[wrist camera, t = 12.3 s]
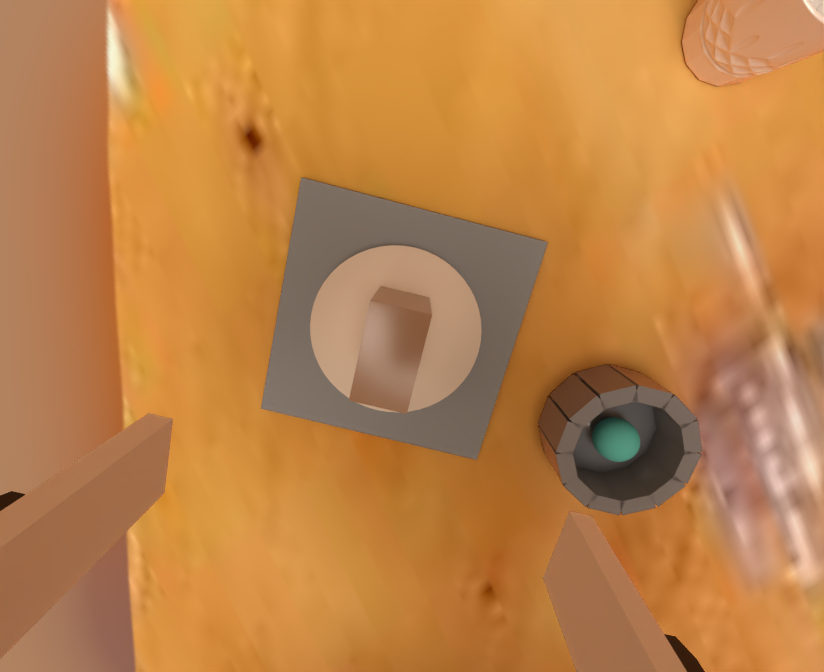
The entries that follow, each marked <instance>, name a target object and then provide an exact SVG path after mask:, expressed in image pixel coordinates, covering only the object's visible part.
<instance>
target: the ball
mask: <svg viewBox="0 0 824 672" xmlns="http://www.w3.org/2000/svg"><path fill="white" fill-rule="evenodd" d="M592 441H593V445H594V447H595V449H596V450H597V452H598V453H599V454H600V455H601V456H603V457H604V458H606V459H608V460H611V461H615V462H623V461H627V460H629V459H631V458H632V457H634V456H635V455H636V453H637V452H638V450H639V447H640V437H639V434H638V432H637V430H636V428H635V427H634V426H633V425H632V424H631V423H629V422H628V421H626V420H624V419H621V418H615V417H612V418H606V419H604V420H602V421H600V422H599V423H598V424H597V425H596V426H595V428H594V430H593V434H592Z"/></svg>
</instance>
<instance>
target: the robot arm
mask: <svg viewBox="0 0 824 672" xmlns="http://www.w3.org/2000/svg"><path fill="white" fill-rule="evenodd" d="M172 422H173V419H172V418H167V417H163V416H159V415H154V414H150V413H148V414H147V415H145V416H144V417H142V418H141V419H139V420H138V421H136V422H135V423H133V424H132V425H130V426H129V427H127V428H126V429H124V430H123V431H121V432H120V433H118V434H117V435H115V436H113V437H112V438H111V439H109V440H108V441H106V442H104V443H103V444H101V445H100V446H98V447H97V448H95V449H94V450H92V451H91V452H89V453H88V454H87V455H85V456H83V457H82V458H80V459H79V460H77V461H76V462H74V463H73V464H71V465H70V466H68V467H67V468H65V469H64V470H62V471H61V472H59V473H58V474H56V475H55V476H53V477H52V478H50V479H48V480H47V481H46V482H44V483H42V484H41V485H39V486H38V487H36V488H35V489H33V490H32V491H30V492H29V493H27V494H22V493H17V492H13V491H11V492H8V493H6V494H3V495H1V496H0V659H1V658H2V657H3V656H4V655H5V654H6V653H7V652H8V651H9V650H10V649H11V648H12V647H13V646H14V645H15V644H16V643H17V642H18V641H19V640H20V639H21V638H22V637H23V636H24V635H25V634H26V633H27V632H28V631H29V630H30V628H32V627H33V625H35V624H36V623H37V622H38V620H39V619H41V618H42V617H43V615H45V613H46V612H47V611H48V610H49V609H50V608H51V607H52V606H53V605H54V604H55V603H56V602H57V601H58V600H59V599H60V598H61V597H62V596H63V595H64V594H65V593H66V592H67V591H68V590H69V589H70V588H71V587H72V586H73V585H74V584H75V583H76V582H77V581H78V580H79V579H80V578H81V577H82V576H83V575H84V574H85V573H86V572H87V571H88V570H89V569H90V568H91V567H92V566H93V565H94V564H95V563H96V562H97V561H98V560H99V559H100V558H101V557H102V555H104V554H105V553H106V552H107V551H108V550H109V549H110V547H112V545H113V544H114V543H115V542H116V541H117V540H118V539H119V538H120V537H121V536H122V535H123V534H124V533H125V532H126V531H127V530H128V529H129V528H130V527H131V526H132V525H133V524H134V523H135V522H136V521H137V520H138V519H139V518H140V517H141V516H142V515H143V514H144V513H145V512H146V511H147V510H148V509H149V508H150V507H151V506H152V505H153V504H154V503H155V502H156V501H157V500H158V499H159V498H160V497H161V496H162V495H163V494H164V492H165V483H166V475H167V466H168V457H169V449H170V440H171V431H172ZM543 579H544V582H545V585H546V587H547V590H548V593H549V596H550V599H551V601H552V604H553V607H554V610H555V613H556V615H557V618H558V621H559V624H560V626H561V629H562V632H563V635H564V638H565V640H566V643H567V646H568V649H569V652H570V654H571V657H572V660H573V663H574V666H575V668H576V671H577V672H705V671H704V670H703V668H702V667H701V665H700V664H699V662H698V661H697V659H696V658H695V657H694V656H693V655H692V654H691V653H690V652H689V650H688V649H687V648H686V647H685V646H684V645H683V644H682V643H681V642H680V641H679V640H678V639H677V638H676V637H675V636H670V635H666V634H664V633H663V632H662V630H661V628H660V627H659V625H658V623H657V622H656V620H655V619H654V617H653V615H652V614H651V612H650V610H649V609H648V607H647V605H646V604H645V602H644V601H643V599H642V597H641V596H640V594H639V592H638V591H637V589H636V587H635V586H634V584H633V582H632V581H631V579H630V578H629V576H628V574H627V573H626V571H625V569H624V568H623V566H622V564H621V563H620V561H619V560H618V558H617V556H616V555H615V553H614V551H613V550H612V548H611V546H610V545H609V543H608V541H607V540H606V538H605V537H604V535H603V533H602V532H601V530H600V528H599V527H598V525H597V523H596V522H595V520H594V519H593V517H592V516H590V515H586V514H581V513H577V512H573V511H569V514H568V516H567V519H566V521H565V524H564V526H563V529H562V531H561V534H560V536H559V539H558V542H557V544H556V547H555V549H554V552H553V554H552V557H551V559H550V562H549V564H548V567H547V569H546V572H545V574H544V577H543Z"/></svg>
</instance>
